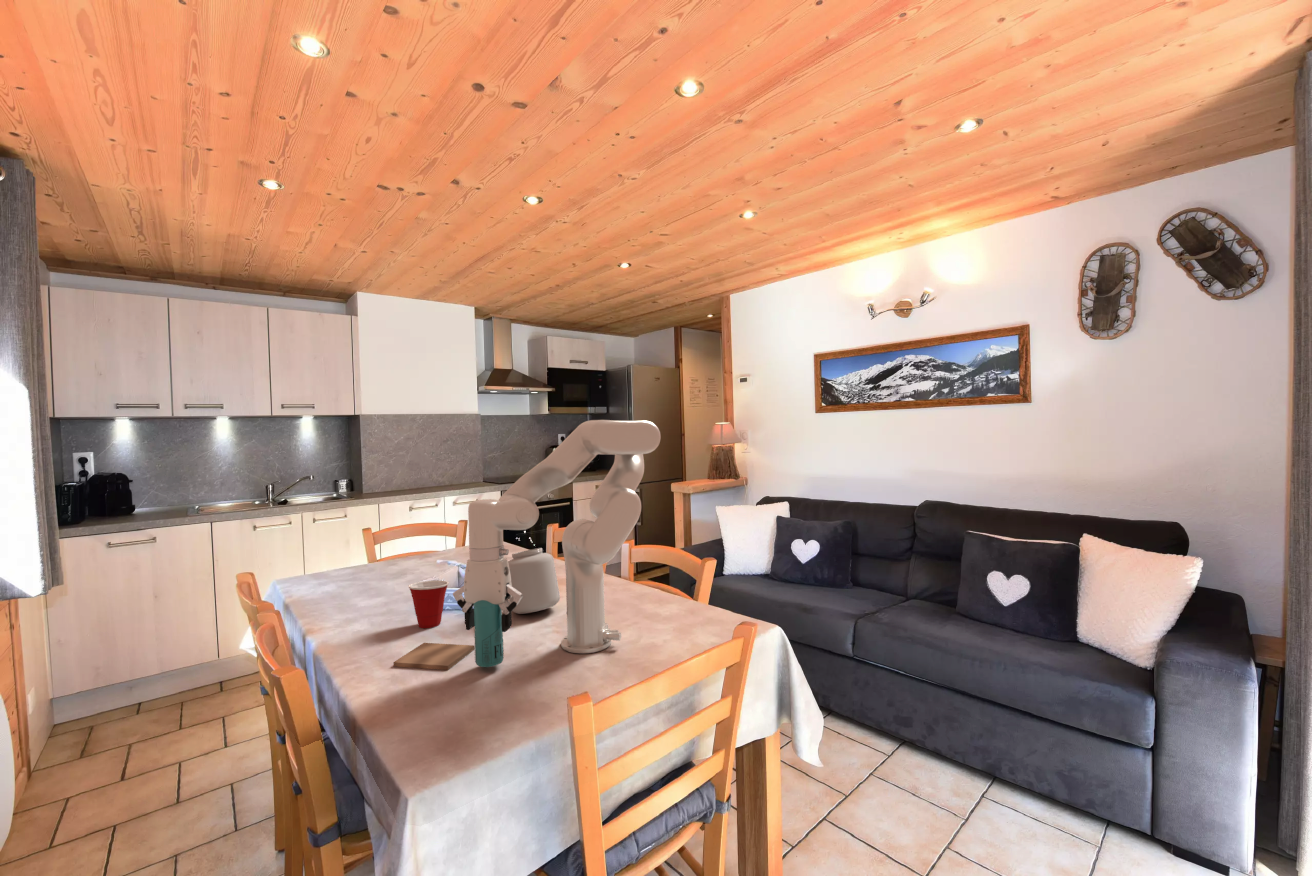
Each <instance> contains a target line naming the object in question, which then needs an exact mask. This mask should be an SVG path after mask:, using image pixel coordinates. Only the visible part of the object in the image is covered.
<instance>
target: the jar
mask: <svg viewBox="0 0 1312 876" xmlns="http://www.w3.org/2000/svg"><path fill="white" fill-rule="evenodd" d="M523 532H524V534H526V530H523ZM515 539H516V540H517V539H518V540H520V537H519V538H518V537H516V538H515ZM528 539H530V542H531V543H533V541H532V539H531V537H529V538H528ZM535 545H536V544H533V546H535ZM535 547H536V546H535ZM511 558H512V559H510V560H508V564H509V568H510V574H511V583H512V587H513V588H515V589H516V590H517V591H519V592H520V593H522V594H523V597H522V598H521V600H520V602H519V604H518V605H517V606H516V607H515V608H514V609H513V611H512V613H515V614H518V615H522V614H523V615H524V614H531V613H535V612H536V613H537V612H539V611H544V610H546V609H550V608H552V607H554V606H556V605H557V604H558V603H559V601H560V599H561V594H560V588H559V583H558V576H557V572H556V565H555V564H556V563H555V559H554V556H553V555H552V554H550V553H548V552H543V548H542V547H538V548H532V549H528V550H523V551H519V552H514V553H512V554H511ZM508 600H509V601H510V603H512V602H513V600H514V597H513V596H512V597H511V598H510V599H508Z"/></svg>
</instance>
